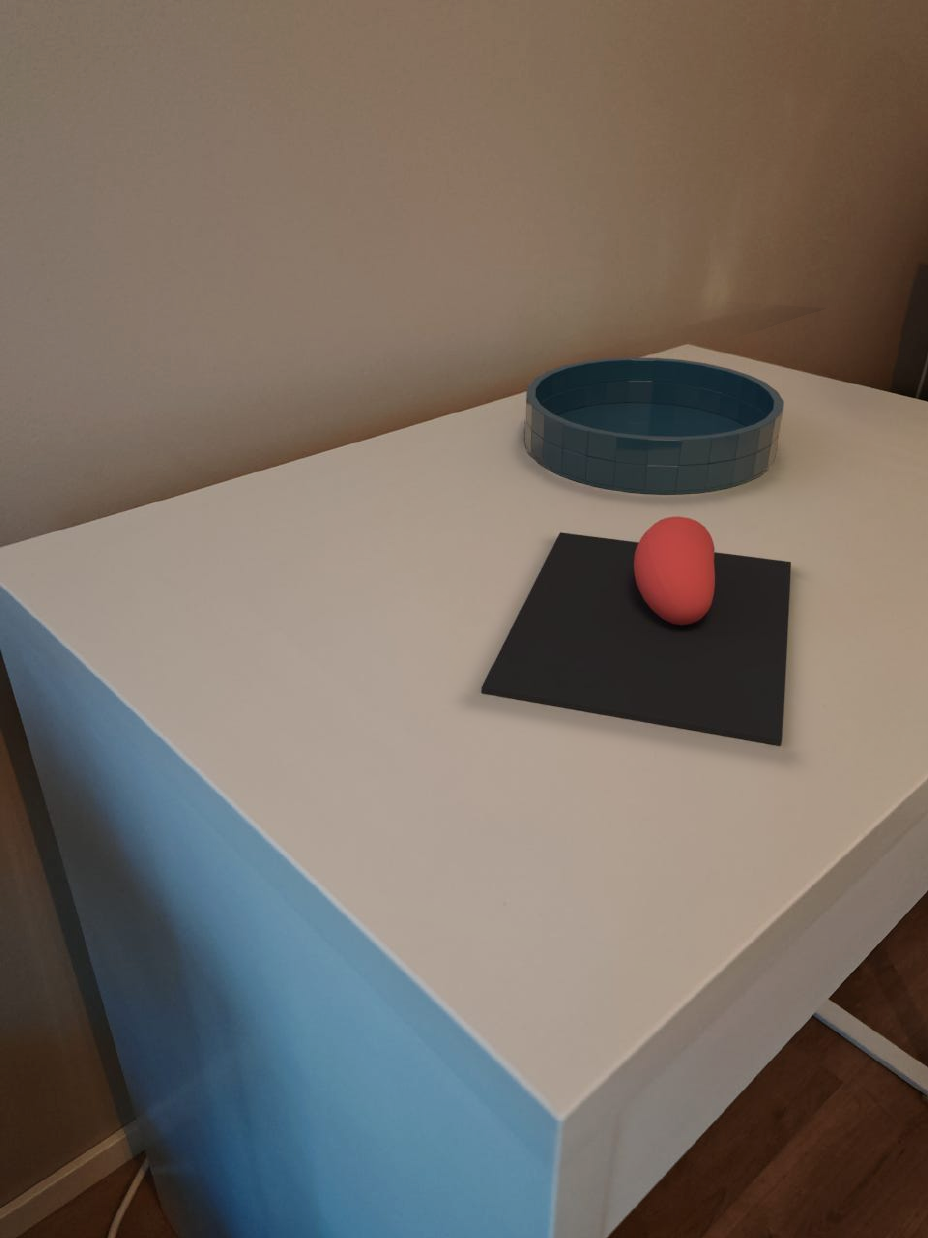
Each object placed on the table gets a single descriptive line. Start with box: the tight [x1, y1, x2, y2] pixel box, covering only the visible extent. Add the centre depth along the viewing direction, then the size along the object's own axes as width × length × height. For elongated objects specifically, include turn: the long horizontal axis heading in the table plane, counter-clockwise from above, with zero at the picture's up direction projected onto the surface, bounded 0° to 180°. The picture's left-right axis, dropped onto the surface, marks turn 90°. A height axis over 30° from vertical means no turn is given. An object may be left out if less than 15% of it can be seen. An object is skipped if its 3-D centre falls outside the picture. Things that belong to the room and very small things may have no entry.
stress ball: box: [634, 516, 715, 625], centre depth 60 cm, size 5×9×6 cm, turn 157°
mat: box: [481, 531, 792, 746], centre depth 59 cm, size 16×20×1 cm
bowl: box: [524, 356, 785, 495], centre depth 84 cm, size 22×22×4 cm
